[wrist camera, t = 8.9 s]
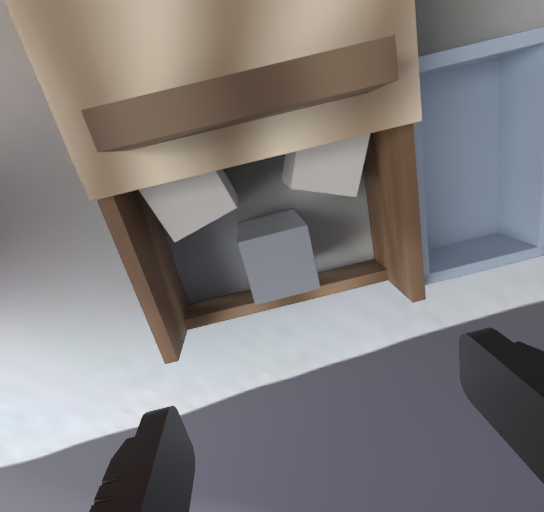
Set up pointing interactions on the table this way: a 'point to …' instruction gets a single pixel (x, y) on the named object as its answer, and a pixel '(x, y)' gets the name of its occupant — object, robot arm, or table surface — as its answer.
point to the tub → (481, 155)
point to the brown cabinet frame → (386, 266)
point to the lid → (215, 80)
